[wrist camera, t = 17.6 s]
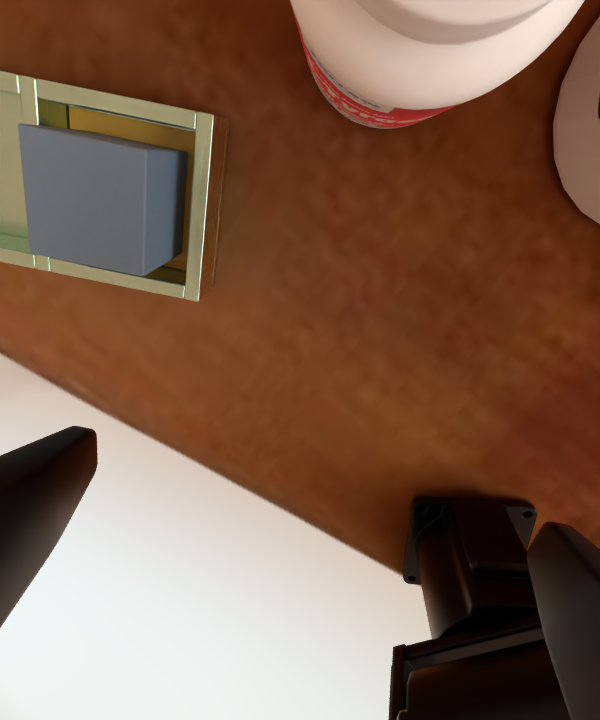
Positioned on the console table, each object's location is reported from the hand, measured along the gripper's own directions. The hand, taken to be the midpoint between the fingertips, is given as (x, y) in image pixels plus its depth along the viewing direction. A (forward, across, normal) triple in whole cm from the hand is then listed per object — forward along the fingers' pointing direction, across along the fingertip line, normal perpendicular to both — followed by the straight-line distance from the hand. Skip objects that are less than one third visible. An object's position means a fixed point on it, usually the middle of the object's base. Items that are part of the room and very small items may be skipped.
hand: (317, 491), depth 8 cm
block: (+11, +9, -3) cm, 15 cm away
